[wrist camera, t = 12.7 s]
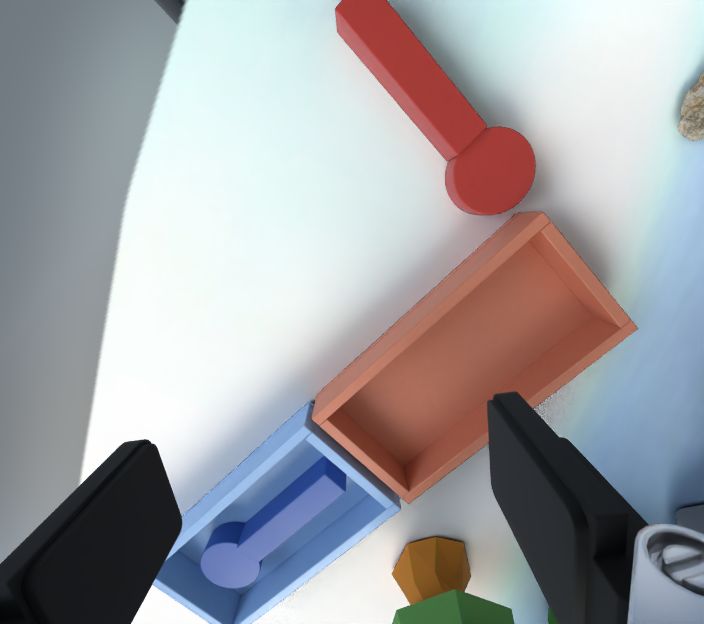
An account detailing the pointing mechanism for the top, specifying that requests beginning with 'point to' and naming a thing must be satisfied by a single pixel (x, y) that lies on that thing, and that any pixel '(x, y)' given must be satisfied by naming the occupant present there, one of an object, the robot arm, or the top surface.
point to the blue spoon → (270, 526)
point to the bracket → (691, 518)
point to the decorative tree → (441, 587)
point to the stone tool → (693, 112)
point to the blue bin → (297, 551)
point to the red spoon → (439, 110)
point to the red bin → (471, 355)
